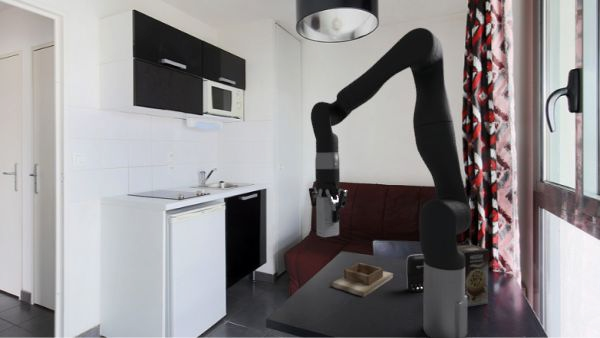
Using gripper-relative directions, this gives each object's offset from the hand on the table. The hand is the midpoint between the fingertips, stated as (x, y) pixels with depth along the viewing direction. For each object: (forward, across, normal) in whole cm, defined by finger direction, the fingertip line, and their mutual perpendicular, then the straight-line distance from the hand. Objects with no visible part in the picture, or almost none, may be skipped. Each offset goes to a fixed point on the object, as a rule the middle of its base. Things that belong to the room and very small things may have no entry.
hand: (328, 221), depth 101 cm
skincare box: (+5, 0, 0) cm, 5 cm away
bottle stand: (+23, -4, -15) cm, 28 cm away
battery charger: (+23, -21, -20) cm, 37 cm away
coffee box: (+24, -35, -22) cm, 47 cm away
